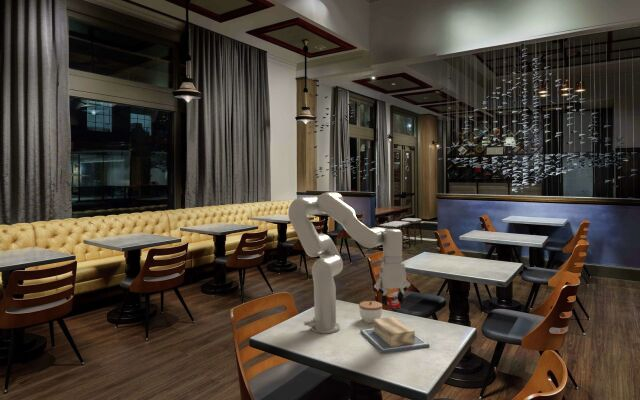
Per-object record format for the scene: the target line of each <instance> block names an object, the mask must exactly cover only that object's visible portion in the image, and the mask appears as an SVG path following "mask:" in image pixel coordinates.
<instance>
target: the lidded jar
mask: <svg viewBox="0 0 640 400" xmlns="http://www.w3.org/2000/svg"><path fill="white" fill-rule="evenodd" d="M358 310H359V314H360V317H361V318H362V320H363V321H364V322H365V323H368V324H373V319H381V316H382V314H383V304H382V302H379V301H375V300H367V301H366V300H365V301H361V302H360V303H359V309H358Z"/></svg>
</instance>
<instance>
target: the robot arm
mask: <svg viewBox="0 0 640 400" xmlns="http://www.w3.org/2000/svg"><path fill="white" fill-rule="evenodd" d="M319 214H327V215H328V216H329V217H330V218H332V219H333V220H334V221H336V222H337V223H338V224H340V225H341V226H342V228H343V229H344V231H346V233H347V234H348V236H350V237H351V238H352V240H354V241H355V242H357V243H358V244H359V245H361V246H362V247H364V248H368V249H373V248H375V247H379V246H381V245H382V249H383V250H382V251H383V253H382V257H380V258H379V261H380V262H382V263H381V266H380V271H379V279H378V280H377V282H376V283H375V284H374V286H373V287H374V288H375V289H376V290H377V292H379V294H381V298H380V299H381V302H380V303H381V304H382V305H384V306H386V305H387V296H388V295H386V294H387V292H388V290H398V293H397V297H398V300H399V302H400V305H403V303H404V295H405V294H406V292H407V290H408V288H409V287H410V286H411V285H412V284H411V282H410V281H409V280H408V279H407V273H406V266H405V263H404V262H403V232H402V230H401V229H397V228H383V227H377V226H376V227H375V226H374V227H371V228H369V227H368V226H367V225H365V224H364V223H362V222H361V221H360V220H359V219H358V218H357V216H356V211H355V209H354V208H353V207H351V206H350V205H348V203H346V202H345V201H344V197H343V195H341V193H339V192H336V191H327V192H323V193H321V194H319V195H313V196H300V197H297V198H295V199H294V200H293V201H292V202H291V203H290V205H289V207H288V220H289V222H290V224H291V226H292V228H293V229H294V231H295V233H296V235H297V237H298V239H299V241H300V243H301V246H302V248H303V249H304V252H305V253H306V255H307V256H309V257H311V258H316V257H319V258H317V259H316V260H315V261H314V263H313V264H312V267H311V273H312V274H311V275H312V276H311V277H312V279H313V296H314V297H313V301H314V303H313V305H314V308H313V309H314V310H313V311H314V317H312V319H310V320H305V321H303V326H308V327H309V328H310V329H311V331H312V332H314V333H316V334H333V333H337V332H338V331H339V330H340V328H341V326H340V323H337V300H336V299H337V298H336V297H337V296H336V294H337V293H336V291H337V290H336V289H337V287H336V283H335V280H334V276H337V275H339V274H340V273H341V272H342V271H343V267H344V262H343V259H342V256H341V254H340V253H339V250H338V249H337V247H336V244H335V243H334V241H333V239H332V237H330V236H329V235H327V234H325V233H318V232H317V229H316V227H315V225H314V223H313V222H312V221H311V220H310V218H308V216H311V215H319ZM380 287H381V288H380ZM386 307H387V306H386Z"/></svg>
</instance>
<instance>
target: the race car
mask: <svg viewBox="0 0 640 400" xmlns="http://www.w3.org/2000/svg"><path fill="white" fill-rule="evenodd" d="M386 296H387V305H386V308H387V309H389V310H401V304H400V302H399V300H398V296H397V295H386Z"/></svg>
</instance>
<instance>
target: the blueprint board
mask: <svg viewBox="0 0 640 400" xmlns="http://www.w3.org/2000/svg"><path fill="white" fill-rule="evenodd" d="M372 324H373V325H372V326H373V328H369V329H360V331H359V332H360V334H362V336H364V338H365V339H366V340H367V341H369V342H370V343H371V344H372V345H373V346H374V347H375V348H376V349H377V350H378V351H379V352H380V353H381V354H382V355H383V354H390V353H396V352H402V351H412V350H417V349H424V348H429V347H430V343H428V342H427V341H426V340H424V339H423V338H421V337H420V336H419V335H417V334H416V332H415V330H414V329H412V328H411V327H410V326H408V325H407V324H405V323H404V322H403V321H401V320H400V319H398V318H397V317H396V316H391V317H384V318H381V317H380V319H373V323H372Z"/></svg>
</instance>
